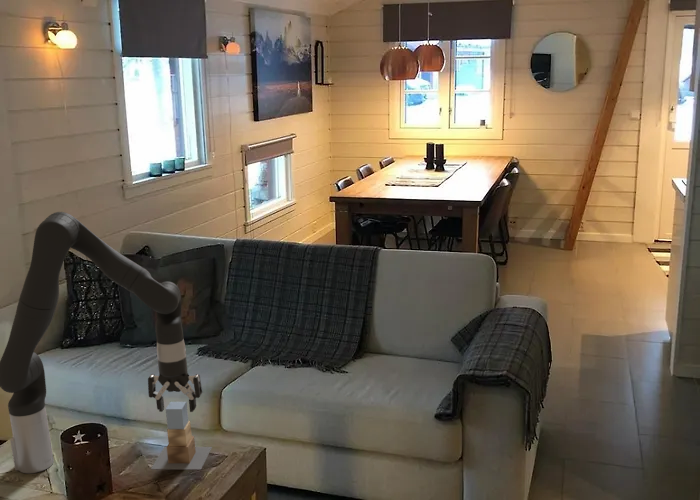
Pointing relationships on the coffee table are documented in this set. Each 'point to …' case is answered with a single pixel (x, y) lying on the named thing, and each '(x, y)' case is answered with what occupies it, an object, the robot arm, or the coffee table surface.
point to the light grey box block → (177, 415)
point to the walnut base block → (181, 452)
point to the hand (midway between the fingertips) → (177, 410)
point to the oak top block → (179, 436)
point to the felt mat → (195, 463)
